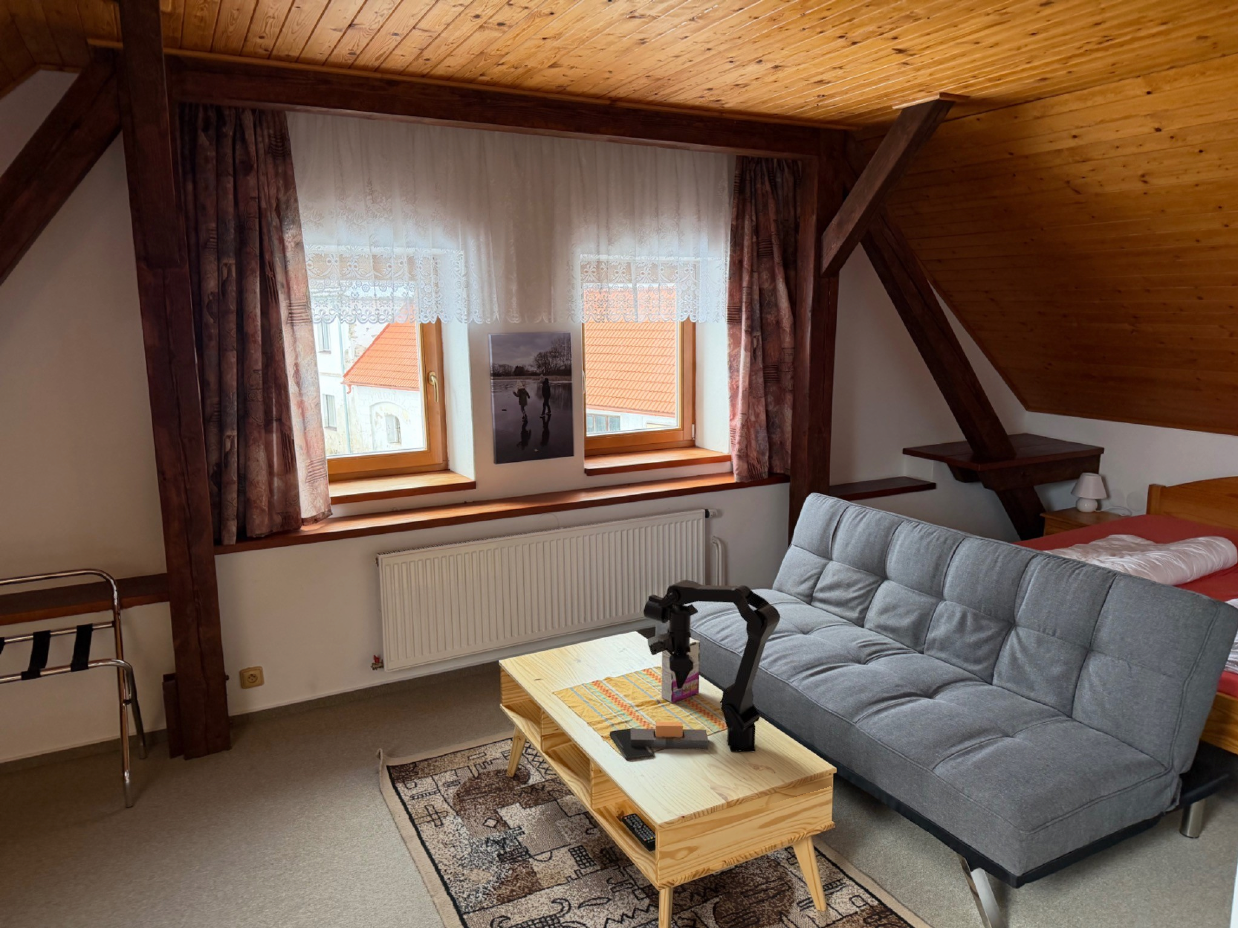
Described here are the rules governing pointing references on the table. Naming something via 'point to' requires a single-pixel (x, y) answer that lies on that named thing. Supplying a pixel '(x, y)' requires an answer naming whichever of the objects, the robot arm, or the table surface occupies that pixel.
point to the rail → (669, 739)
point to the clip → (669, 729)
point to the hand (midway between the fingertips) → (677, 681)
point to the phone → (629, 746)
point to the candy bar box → (669, 678)
